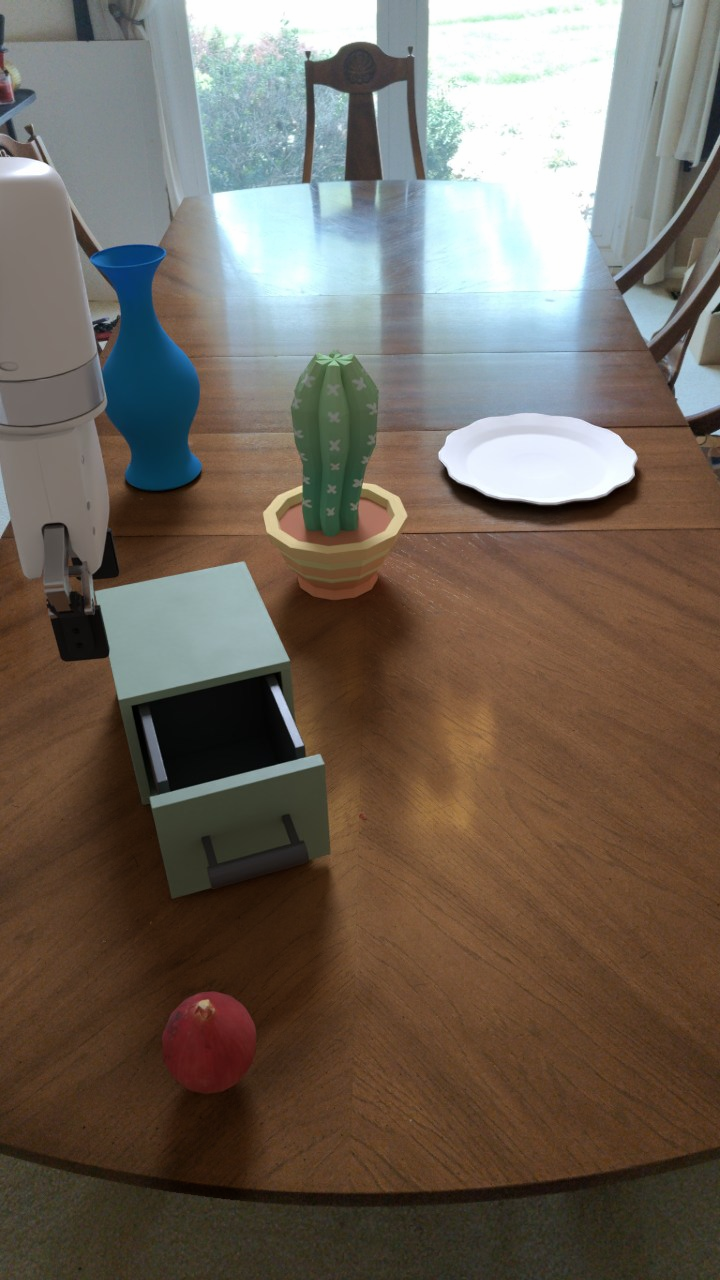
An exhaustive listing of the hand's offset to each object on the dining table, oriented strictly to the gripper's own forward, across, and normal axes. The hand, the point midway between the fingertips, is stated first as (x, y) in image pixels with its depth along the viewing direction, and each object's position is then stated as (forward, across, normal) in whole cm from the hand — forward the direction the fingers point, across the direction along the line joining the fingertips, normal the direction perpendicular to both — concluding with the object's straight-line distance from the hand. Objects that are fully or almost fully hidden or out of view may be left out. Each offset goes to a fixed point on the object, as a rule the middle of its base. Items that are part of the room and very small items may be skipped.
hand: (92, 615), depth 70 cm
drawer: (+19, +4, +8) cm, 21 cm away
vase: (+20, -60, 0) cm, 63 cm away
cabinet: (+20, -10, +6) cm, 23 cm away
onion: (+20, +24, +6) cm, 32 cm away
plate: (+20, -53, +49) cm, 75 cm away
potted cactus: (+20, -32, +20) cm, 43 cm away
